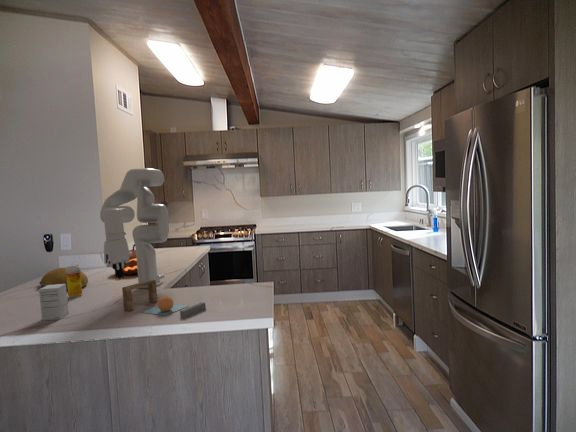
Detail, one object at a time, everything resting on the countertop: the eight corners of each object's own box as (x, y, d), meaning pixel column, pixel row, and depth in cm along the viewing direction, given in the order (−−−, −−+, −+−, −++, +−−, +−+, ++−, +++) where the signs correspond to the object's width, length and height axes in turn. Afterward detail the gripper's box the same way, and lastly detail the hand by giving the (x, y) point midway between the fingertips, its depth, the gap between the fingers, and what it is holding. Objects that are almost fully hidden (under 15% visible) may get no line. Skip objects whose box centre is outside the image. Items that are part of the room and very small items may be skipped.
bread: (63, 293, 206) (62, 274, 205) (35, 286, 228) (33, 268, 227) (99, 285, 221) (97, 267, 220) (69, 279, 242) (67, 263, 241)
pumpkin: (104, 277, 241) (101, 246, 240) (127, 269, 265) (125, 240, 264) (143, 277, 237) (141, 244, 235) (163, 268, 261) (161, 239, 260)
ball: (178, 306, 163) (170, 312, 166) (172, 292, 165) (164, 299, 168) (166, 309, 158) (157, 315, 161) (160, 295, 160) (152, 301, 163)
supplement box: (50, 315, 167) (47, 284, 166) (69, 313, 168) (66, 283, 167) (41, 320, 160) (38, 289, 159) (61, 319, 160) (58, 287, 160)
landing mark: (165, 303, 175) (165, 303, 175) (188, 306, 168) (188, 305, 168) (141, 312, 163) (141, 312, 163) (165, 315, 157) (165, 315, 157)
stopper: (201, 308, 164) (201, 302, 164) (205, 308, 163) (205, 302, 163) (180, 317, 154) (180, 310, 154) (184, 317, 153) (183, 311, 153)
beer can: (76, 298, 194) (73, 266, 193) (65, 298, 195) (62, 267, 195) (85, 294, 200) (82, 264, 199) (74, 294, 201) (71, 264, 200)
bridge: (124, 311, 167) (122, 287, 166) (152, 301, 180) (150, 279, 179) (129, 311, 165) (127, 288, 165) (157, 301, 178) (155, 280, 178)
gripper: (123, 233, 186) (127, 273, 188) (94, 239, 173) (99, 281, 175) (135, 234, 182) (139, 274, 184) (105, 240, 169) (110, 283, 171)
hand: (119, 277), depth 180 cm, fingers closed
